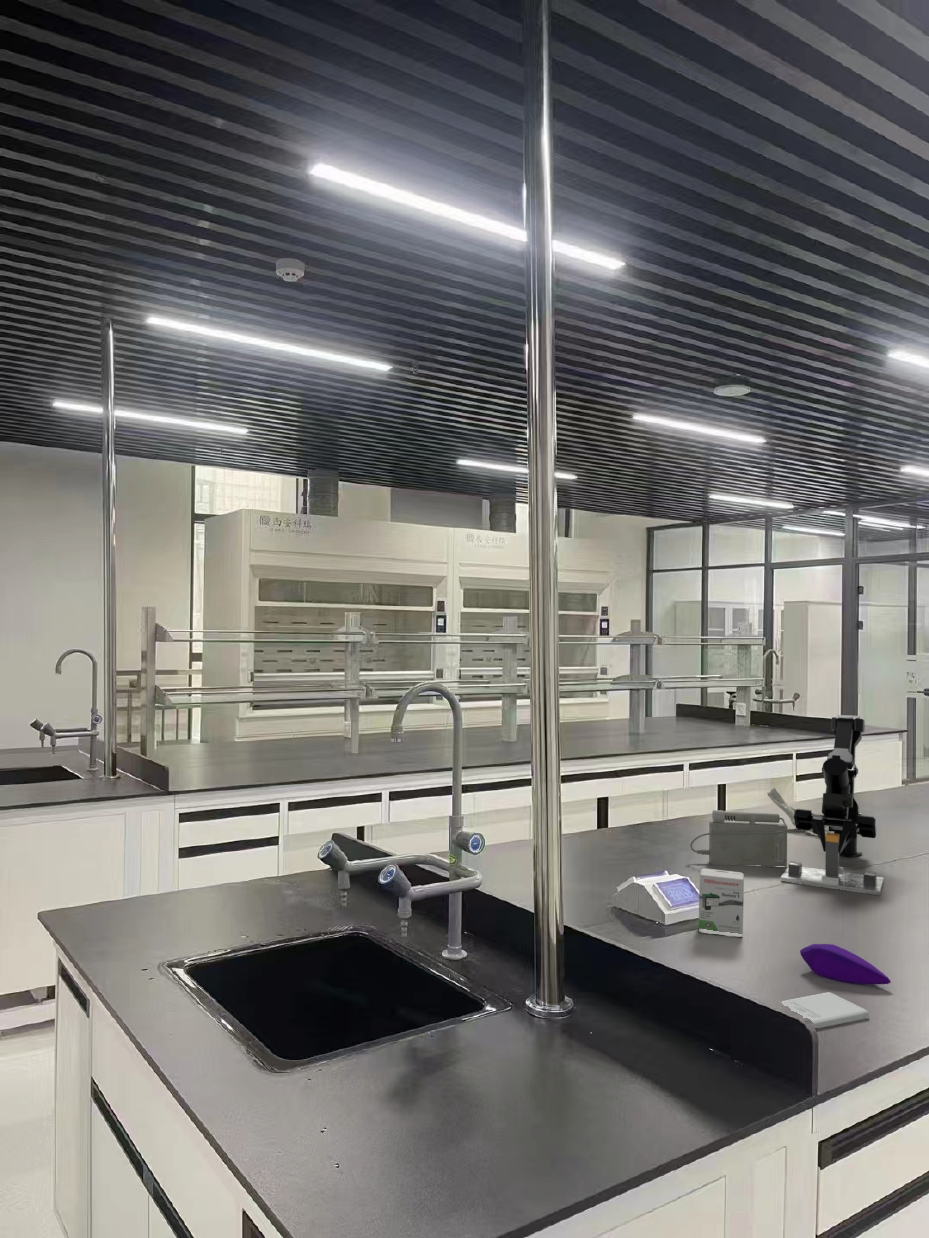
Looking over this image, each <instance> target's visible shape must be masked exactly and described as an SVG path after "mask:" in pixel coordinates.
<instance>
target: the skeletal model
mask: <svg viewBox="0 0 929 1238" xmlns="http://www.w3.org/2000/svg"><path fill="white" fill-rule="evenodd" d="M766 794H767V796H768V797H769V798H770V799H771V801H772V802H773V803H774V804H775V805H776V806H777V807H778V808H780V809H781V810H782V811H783V812H784V813H785V815H786V816H788V818H789V820H790V821H791V823H792V825H793V826H795V820H794V812H795V810H796V809H797V808H794V807H793V806H791V805H789V804H788V803H787V802H786V801H785V800H784V799H783V797H782V796H781V794H780V792H778V791H777V789H776V787H772V789H771V790H769V791H767V792H766ZM812 814H814V813H813V812H812ZM795 827H796V826H795ZM827 827H828V828H827ZM802 832H807V831H806V830H803V831H802ZM808 832H809V833H813V830H812V829H811V830H809V831H808ZM825 833H831V832H830V831H829V826H825Z"/></svg>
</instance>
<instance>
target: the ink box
mask: <svg viewBox="0 0 929 1238" xmlns="http://www.w3.org/2000/svg"><path fill="white" fill-rule="evenodd" d="M699 871H700V872H699V890H698V891H699V892H698V893H699V896H698V899H699V900H698V928H702V929H707V930H713V931H719V932H730V933H738V934H743V935H744V902H745V901H744V900H745V899H744V897H745V896H744V895H745V893H744V892H745V888H744V887H745V886H744V885H745V876H744V873H742V872H739V871H731V870H722V869H713V868H705V867H704V868H702V869H700V870H699Z"/></svg>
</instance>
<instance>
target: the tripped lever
mask: <svg viewBox="0 0 929 1238" xmlns="http://www.w3.org/2000/svg"><path fill="white" fill-rule="evenodd" d="M825 836H826V851H825V863H824V864H825V865H824V866H825V868H824V870H825V876H831V877H839V867H840V855H839V852H838V850H839V834H834V832H830V833H828V832H826V833H825Z"/></svg>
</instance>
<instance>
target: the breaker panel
mask: <svg viewBox="0 0 929 1238" xmlns="http://www.w3.org/2000/svg"><path fill="white" fill-rule="evenodd" d="M877 874H878V873H877V872H875V871H868V870H865V871H863V874H861V873H860V874H858V873H851V872H844V867H843V866H839V877H831V876H825V869H821V868H815V867H807V866H803V863H802V862H798V861H790V862H789V863H787V868H785V871H784V872H783V873H782V874H781V876H780V882H782V881H785V882H784V883H789V882H792V883H791V884H796V883H801V884H800V885H803V884H805V885H804V886H810V885H811V887H817V888H825V889H832V890H838V889H840V890H839V891H845V890H846V891H847V892H852V893H860V894H866V895H874V896H879V897H880V896H881V892H882V889H883V885H884V879H885V878H884V877H881V876H878V875H877Z"/></svg>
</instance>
